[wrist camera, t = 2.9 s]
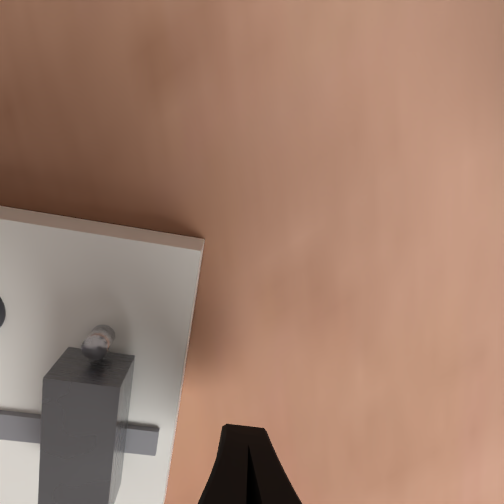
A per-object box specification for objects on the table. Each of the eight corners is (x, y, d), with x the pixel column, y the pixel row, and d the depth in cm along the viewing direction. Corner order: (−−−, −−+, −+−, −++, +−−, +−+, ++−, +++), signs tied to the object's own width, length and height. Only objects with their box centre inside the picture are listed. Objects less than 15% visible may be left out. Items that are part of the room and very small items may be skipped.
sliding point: (60, 477, 13) (37, 523, 11) (70, 320, 11) (44, 347, 10) (121, 483, 13) (105, 529, 11) (138, 329, 11) (123, 358, 10)
